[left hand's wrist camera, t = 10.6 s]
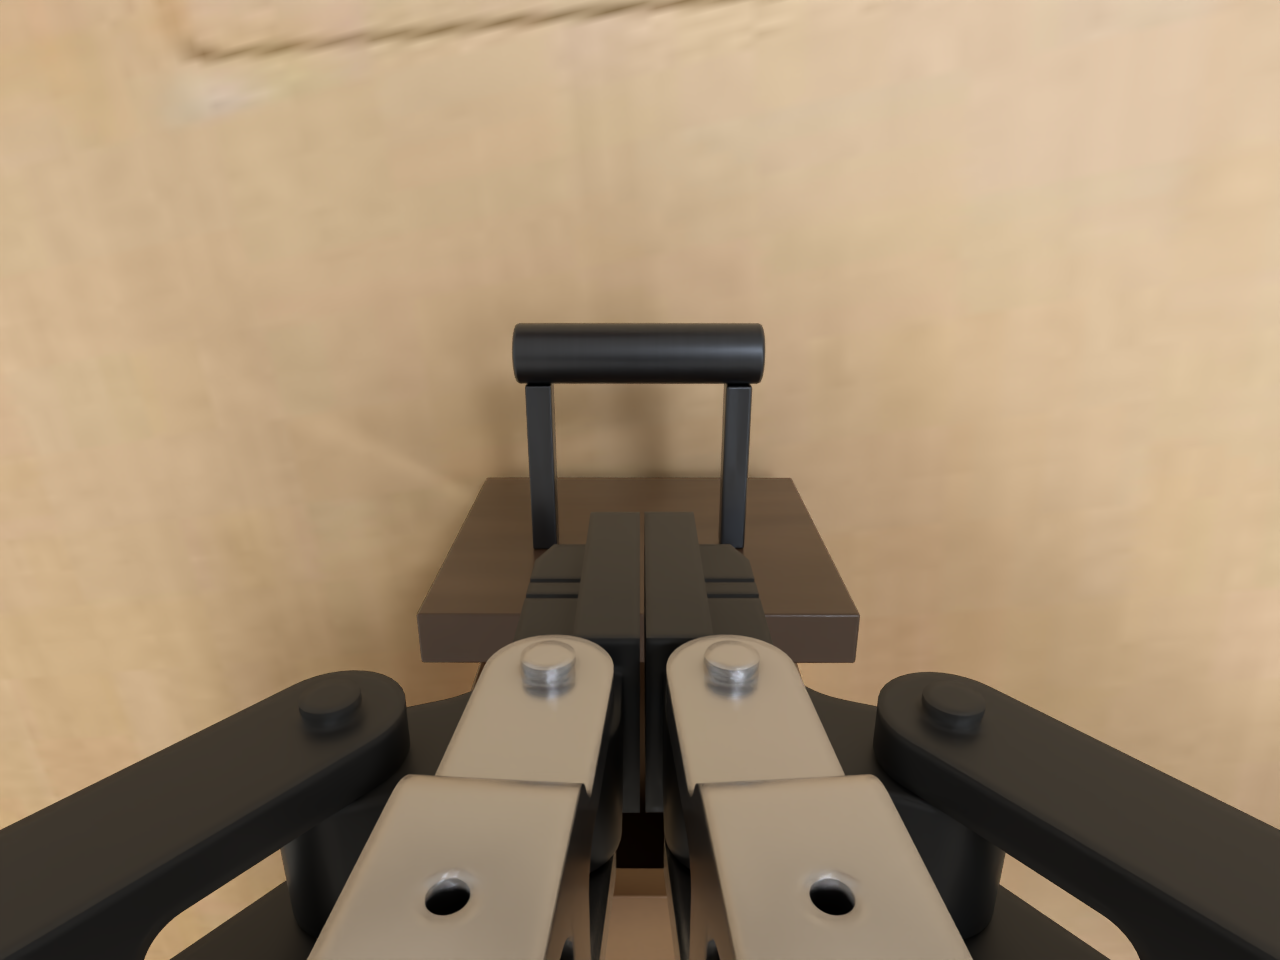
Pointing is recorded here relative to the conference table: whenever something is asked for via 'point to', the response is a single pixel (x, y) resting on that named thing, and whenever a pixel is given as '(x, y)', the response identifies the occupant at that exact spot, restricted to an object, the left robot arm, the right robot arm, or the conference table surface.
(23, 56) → the conference table surface
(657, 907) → the cabinet
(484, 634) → the drawer
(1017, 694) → the conference table surface
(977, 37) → the conference table surface
